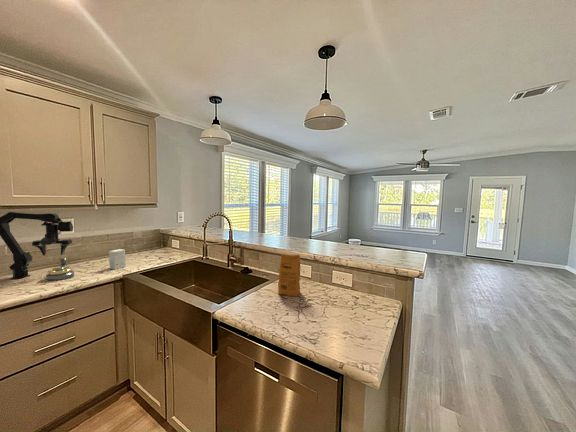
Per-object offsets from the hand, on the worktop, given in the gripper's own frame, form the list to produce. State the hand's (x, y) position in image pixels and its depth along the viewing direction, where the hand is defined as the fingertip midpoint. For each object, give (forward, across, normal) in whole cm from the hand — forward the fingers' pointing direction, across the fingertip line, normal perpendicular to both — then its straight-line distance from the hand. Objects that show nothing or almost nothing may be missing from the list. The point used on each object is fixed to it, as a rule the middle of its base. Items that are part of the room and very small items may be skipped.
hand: (53, 255), depth 161 cm
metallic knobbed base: (+10, +7, -7) cm, 14 cm away
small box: (+13, +34, +7) cm, 37 cm away
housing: (+13, +8, -8) cm, 17 cm away
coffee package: (+13, +140, -79) cm, 161 cm away
